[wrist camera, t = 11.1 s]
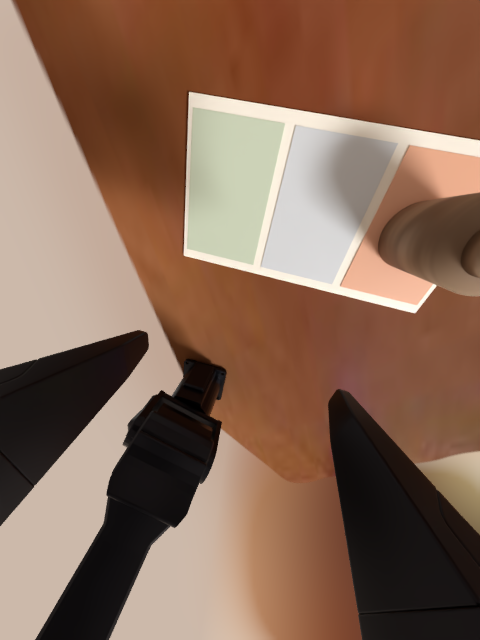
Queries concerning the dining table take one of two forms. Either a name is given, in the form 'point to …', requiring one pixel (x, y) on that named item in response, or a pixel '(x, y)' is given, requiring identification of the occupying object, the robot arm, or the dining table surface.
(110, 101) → the dining table surface
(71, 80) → the dining table surface
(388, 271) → the game board
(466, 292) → the walnut pawn
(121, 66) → the dining table surface
